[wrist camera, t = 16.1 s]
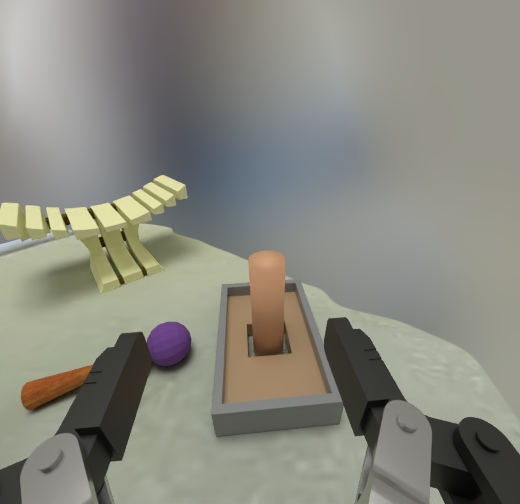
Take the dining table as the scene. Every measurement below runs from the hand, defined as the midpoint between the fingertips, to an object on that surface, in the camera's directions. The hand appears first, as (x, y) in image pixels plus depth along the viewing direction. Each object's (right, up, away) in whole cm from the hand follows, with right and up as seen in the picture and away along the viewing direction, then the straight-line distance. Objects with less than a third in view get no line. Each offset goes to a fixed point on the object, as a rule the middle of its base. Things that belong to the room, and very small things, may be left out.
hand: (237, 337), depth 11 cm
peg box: (+2, -11, +27) cm, 29 cm away
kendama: (-18, -14, +24) cm, 34 cm away
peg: (+2, -11, +27) cm, 29 cm away
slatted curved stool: (-31, 0, +49) cm, 58 cm away
